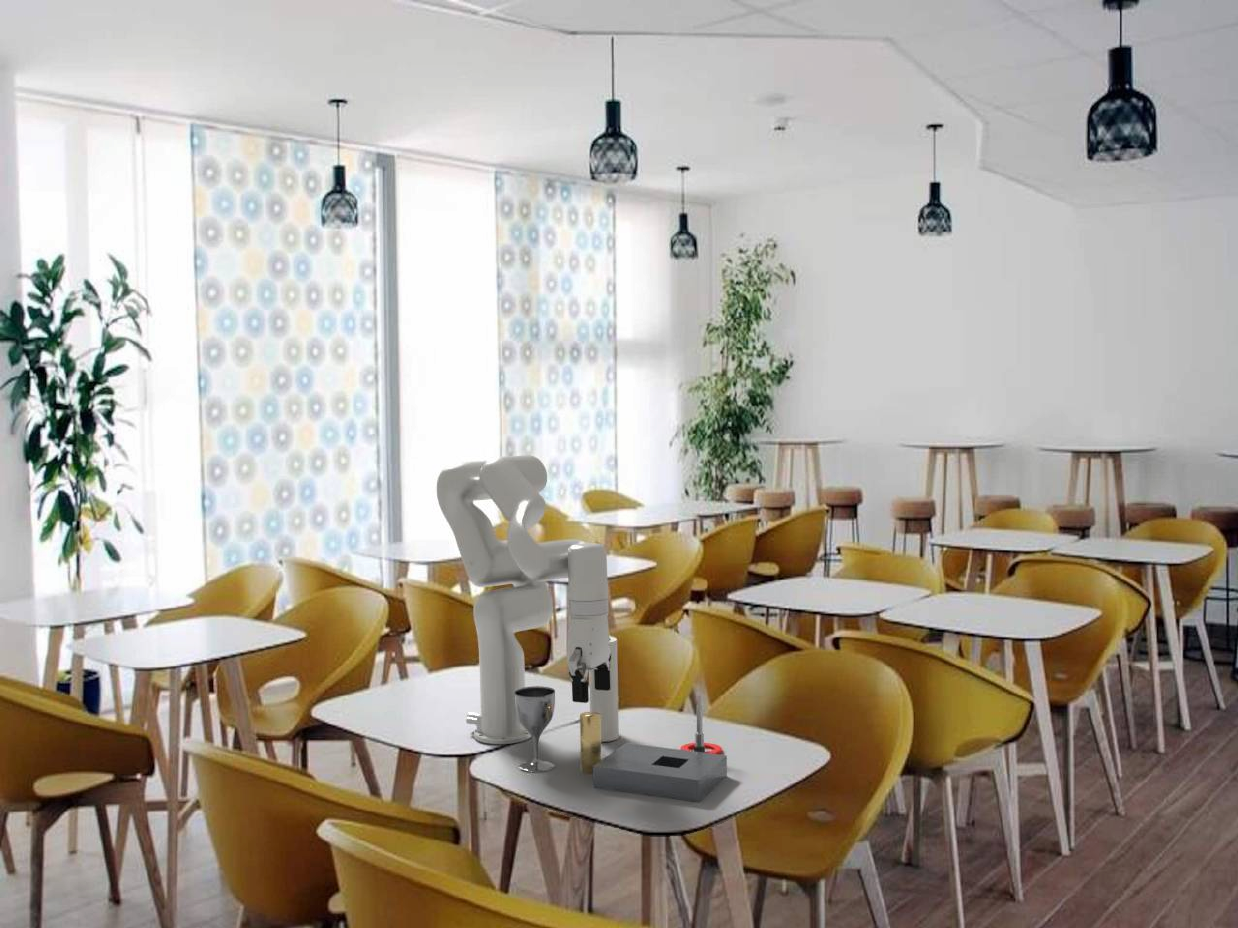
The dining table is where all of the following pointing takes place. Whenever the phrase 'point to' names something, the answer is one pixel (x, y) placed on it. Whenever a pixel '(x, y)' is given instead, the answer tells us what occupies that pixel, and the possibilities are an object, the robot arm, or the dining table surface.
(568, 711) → the dining table surface
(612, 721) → the paper towel roll
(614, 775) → the grey block with hole
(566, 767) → the dining table surface
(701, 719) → the tow hook
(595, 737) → the brass pin
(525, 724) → the wine glass
